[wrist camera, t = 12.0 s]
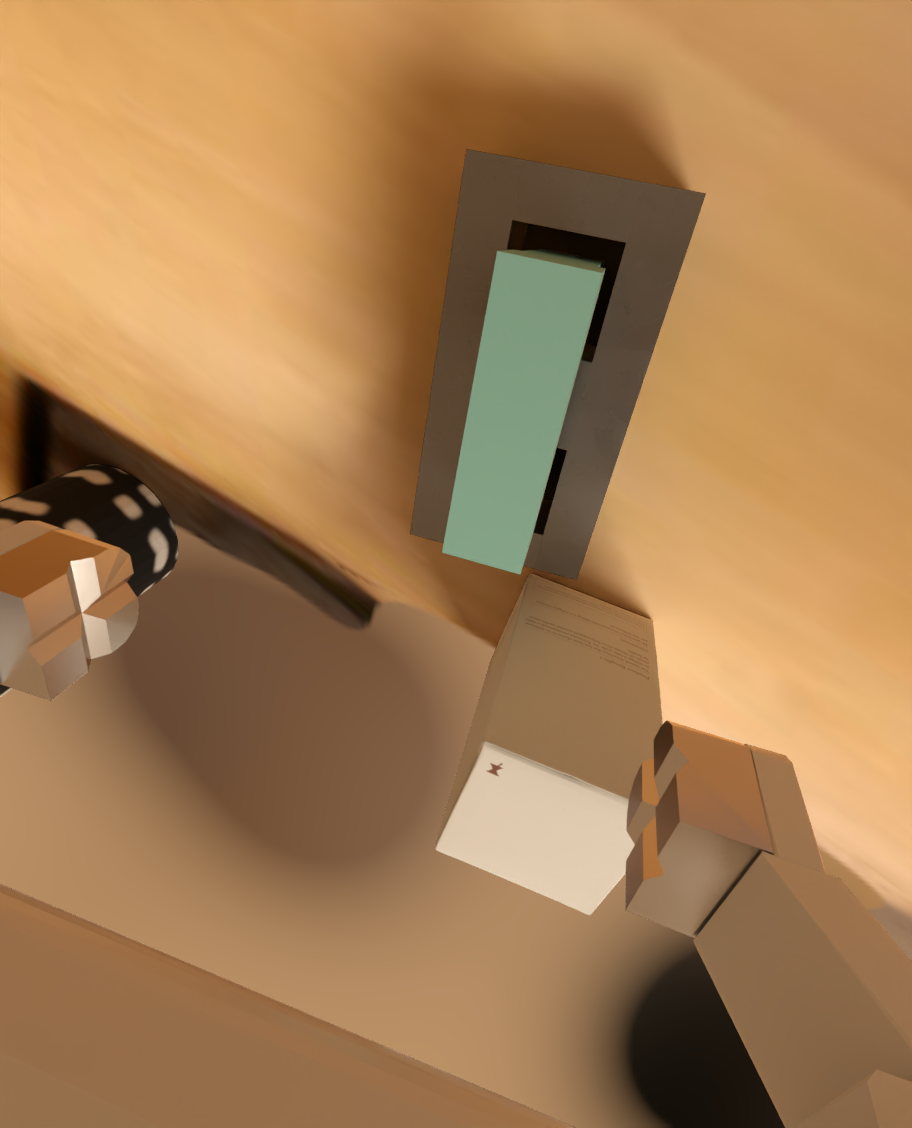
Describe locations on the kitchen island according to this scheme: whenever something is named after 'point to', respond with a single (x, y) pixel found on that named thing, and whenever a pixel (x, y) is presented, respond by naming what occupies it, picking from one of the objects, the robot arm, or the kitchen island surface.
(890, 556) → the kitchen island surface
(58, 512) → the white-spotted black cylinder
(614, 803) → the supplement box
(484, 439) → the green u-shaped block
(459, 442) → the gray socket base
